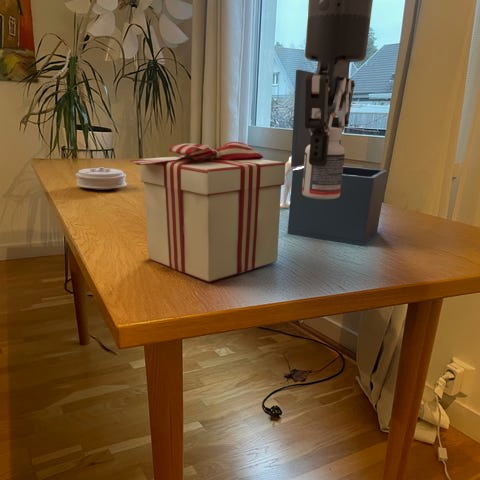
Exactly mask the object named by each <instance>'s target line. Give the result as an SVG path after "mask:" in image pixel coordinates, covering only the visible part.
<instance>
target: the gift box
mask: <svg viewBox="0 0 480 480" xmlns="http://www.w3.org/2000/svg"><path fill="white" fill-rule="evenodd" d="M168 151H169V152H172V153H175V154H177V155H174V156H163V157H150V158H141V159H130V160H128V161H129V162H131V163H133V164H134V165H137V166H139V170H140V171H139V172H140V182H142V183H143V188H144V189H143V190H144V205H145V206H144V207H145V224H146V239H147V240H146V241H147V242H146V243H147V258H148V260H151V261H153V262H156V263H159V264H161V265H163V266H166V267H168V268H171V269H173V270H174V271H175V270H176V271H178V272H181V273H183V274H186V275H189V276H191V277H193V278H196V279H198V280H200V281H204V282H207V283H211V282H216V281H218V280H222V279H225V278H228V277H232V276H235V275H239V274H243V273H244V272H248V271H252V270H255V269H258V268H261V267H264V266H265V267H266V266H268V265H270V264H275V263H277V262H278V251H279V235H280V234H279V232H280V217H281V208H280V203H281V200H282V198H281V197H282V186H284V185H285V164H286V162H284V161H279V160H278V161H277V160H271V159H264V156H263V155H262V154H261V153H259V152H258V151H256V150H255V149H253V148H252V147H250V146H249V145H248V144H246V143H244V142H241V141H230V142H229V141H228V142H227V143H225V144H223V146H221V147H218V148H216V149H214V148H211V146H209V145H208V144H204V143H178V144H174V145H171V146H170V147H169V148H168ZM178 154H179V155H178Z"/></svg>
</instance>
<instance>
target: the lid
mask: <svg viewBox="0 0 480 480" xmlns="http://www.w3.org/2000/svg"><path fill="white" fill-rule="evenodd" d="M75 177H76V179H77V182H76V186H77V187H80V188H86V189H92V190H101V191H103V190H105V191H106V190H107V191H108V190H112V189H116V188H124V187H126V186H127V182H126V177H127V174H126V173H125V172H124V171H123V170H122V169H119V168H118V169H117V168H108V167H106V168H105V166H98V167H93V168H92V167H90V168H83V169H79V170H78V172H76V173H75Z"/></svg>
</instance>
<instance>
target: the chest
mask: <svg viewBox="0 0 480 480" xmlns="http://www.w3.org/2000/svg"><path fill="white" fill-rule="evenodd" d="M303 171H304V165H302V166H301V167H300V168H296V169H293V173H292V185H291V196H290V198H289V201H290V206H289V207H288V208H289V209H288V220H287V233H286V234H288V235H293V236H300V237H306V238H311V239H317V240H324V241H330V242H335V243H336V242H337V243H343V244H348V245H349V244H350V245H354V246H355V245H356V246H361V247H363V246H365V245H366V243H367V242H368V241H369V240H370V239H371V238H372V237H373V236H374V235H375V234H376V233H377V232H378V229H379V224H380V219H381V218H380V217H381V212H382V205H383V201H384V194H385V188H386V182H387V176H388V170H385V169H377V168H367V167H357V166H347V165H346V166H345V165H343V173H342V182H341V191H340V196H339V197H338V198H335V199H314V198H309V197H305V196H303V195H302V184H303Z"/></svg>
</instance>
